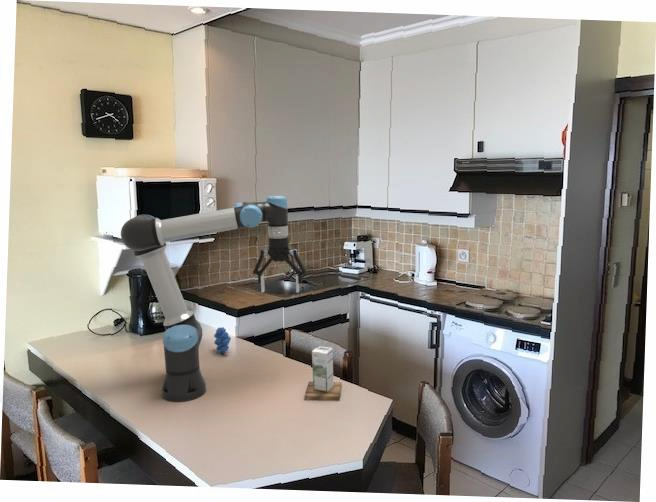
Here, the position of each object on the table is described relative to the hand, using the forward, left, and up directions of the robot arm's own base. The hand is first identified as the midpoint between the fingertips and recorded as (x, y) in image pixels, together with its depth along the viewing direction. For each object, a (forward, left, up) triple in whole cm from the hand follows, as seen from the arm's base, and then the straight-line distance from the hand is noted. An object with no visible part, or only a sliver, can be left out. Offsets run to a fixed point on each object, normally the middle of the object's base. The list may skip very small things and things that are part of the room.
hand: (280, 291), depth 201 cm
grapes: (-29, +18, -32) cm, 47 cm away
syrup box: (+18, -20, -30) cm, 40 cm away
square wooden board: (+18, -20, -32) cm, 42 cm away
